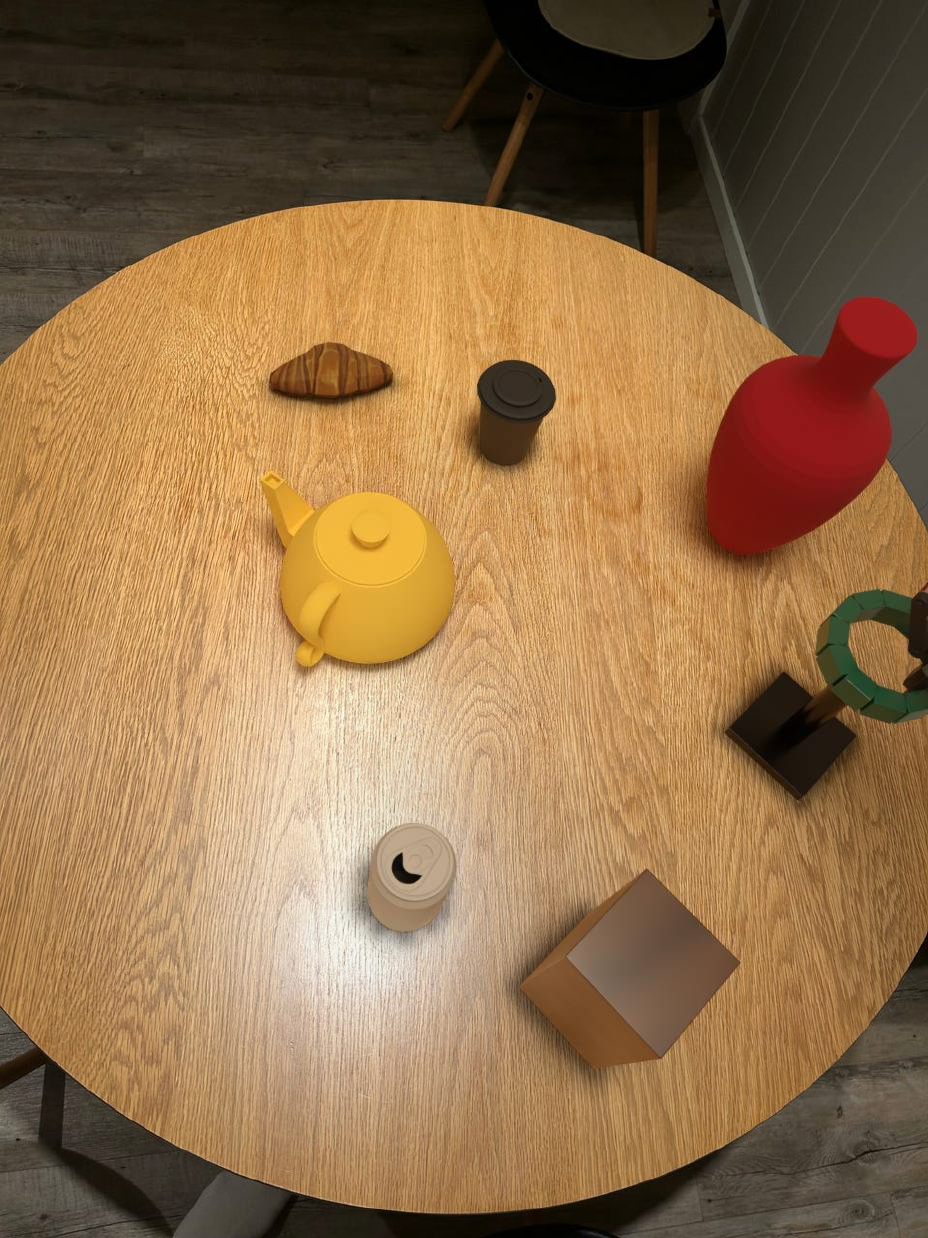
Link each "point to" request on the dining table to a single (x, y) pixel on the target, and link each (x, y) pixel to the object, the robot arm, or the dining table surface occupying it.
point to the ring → (843, 666)
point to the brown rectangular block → (630, 976)
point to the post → (793, 733)
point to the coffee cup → (512, 409)
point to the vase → (806, 433)
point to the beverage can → (410, 876)
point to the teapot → (360, 574)
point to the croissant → (330, 373)
